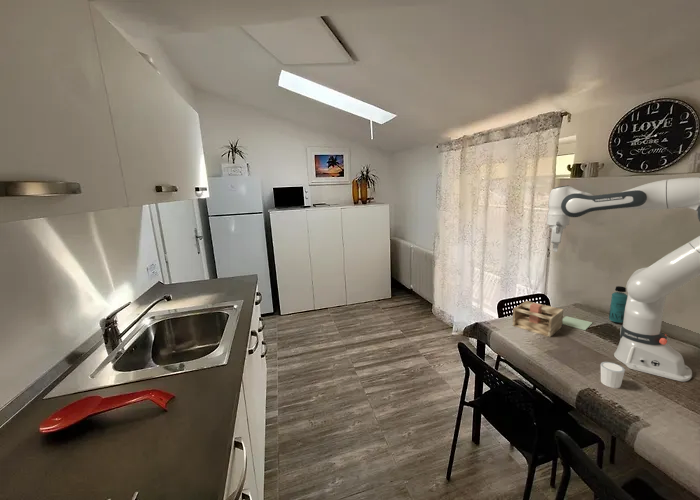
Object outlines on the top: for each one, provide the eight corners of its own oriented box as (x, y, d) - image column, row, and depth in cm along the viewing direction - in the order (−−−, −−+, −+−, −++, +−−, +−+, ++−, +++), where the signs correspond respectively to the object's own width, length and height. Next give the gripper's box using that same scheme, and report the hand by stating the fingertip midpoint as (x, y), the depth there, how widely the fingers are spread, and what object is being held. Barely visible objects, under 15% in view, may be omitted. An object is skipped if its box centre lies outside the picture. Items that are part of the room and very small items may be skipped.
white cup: (616, 391, 108) (618, 374, 106) (594, 381, 114) (596, 364, 113) (626, 385, 110) (629, 368, 109) (605, 375, 117) (607, 359, 115)
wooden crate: (561, 327, 157) (563, 309, 155) (550, 337, 148) (551, 318, 146) (525, 317, 171) (526, 300, 169) (512, 325, 162) (513, 308, 160)
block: (540, 321, 157) (541, 305, 155) (537, 323, 154) (538, 307, 153) (532, 319, 160) (533, 303, 158) (529, 321, 157) (530, 305, 156)
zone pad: (592, 323, 160) (592, 322, 160) (585, 330, 153) (585, 329, 152) (566, 316, 169) (566, 316, 169) (558, 323, 162) (558, 322, 162)
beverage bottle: (605, 320, 162) (609, 285, 159) (618, 320, 161) (623, 284, 158) (613, 325, 156) (618, 289, 152) (628, 325, 155) (632, 288, 151)
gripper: (566, 223, 130) (563, 254, 133) (566, 218, 146) (563, 246, 149) (548, 223, 134) (546, 253, 137) (551, 218, 150) (548, 245, 153)
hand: (555, 249), depth 143 cm, fingers open, 8 cm apart
